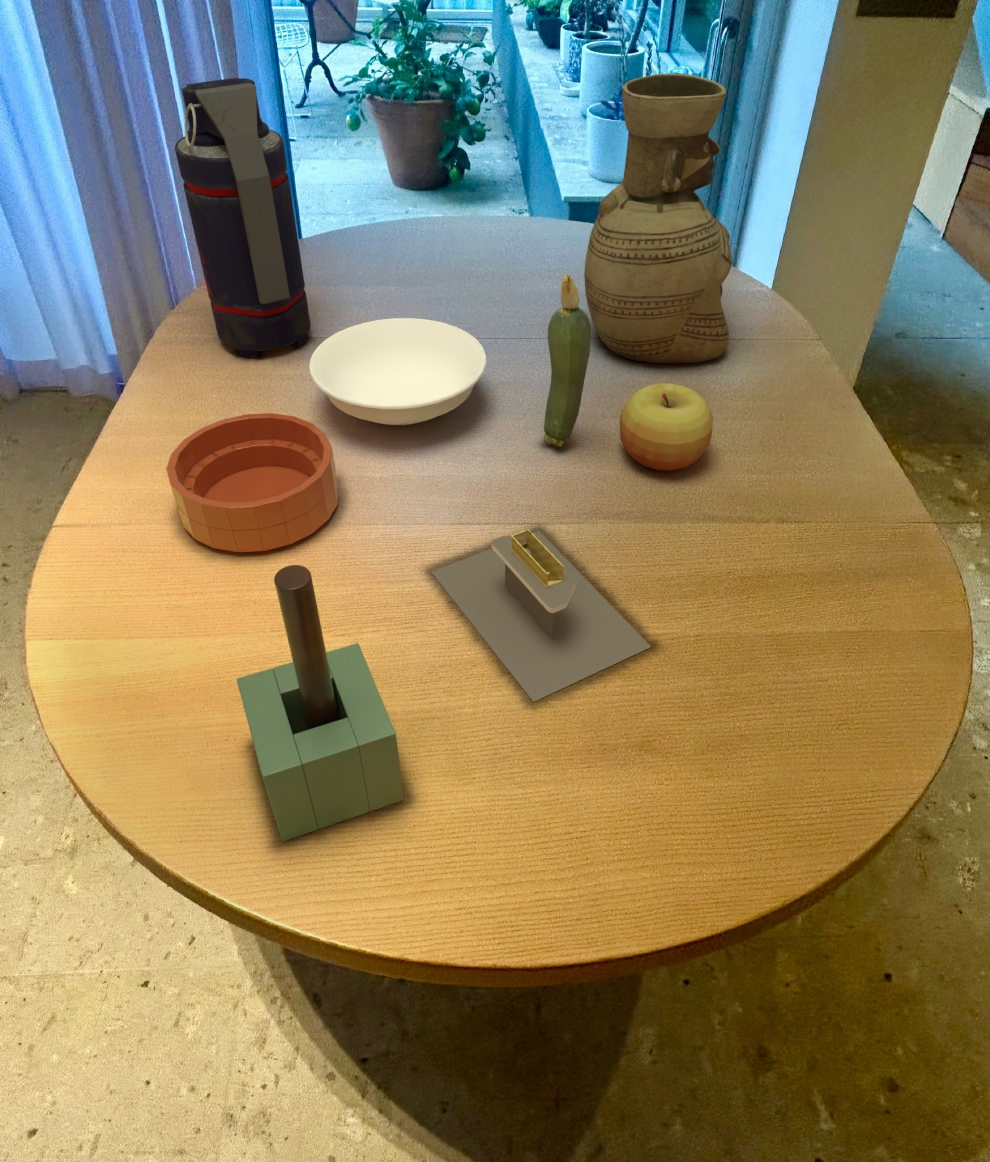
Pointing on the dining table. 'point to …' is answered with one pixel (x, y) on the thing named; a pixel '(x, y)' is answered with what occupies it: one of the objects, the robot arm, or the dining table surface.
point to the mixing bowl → (254, 482)
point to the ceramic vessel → (662, 230)
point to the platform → (539, 613)
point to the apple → (666, 426)
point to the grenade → (242, 217)
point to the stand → (322, 746)
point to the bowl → (398, 369)
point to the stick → (306, 644)
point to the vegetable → (566, 364)
